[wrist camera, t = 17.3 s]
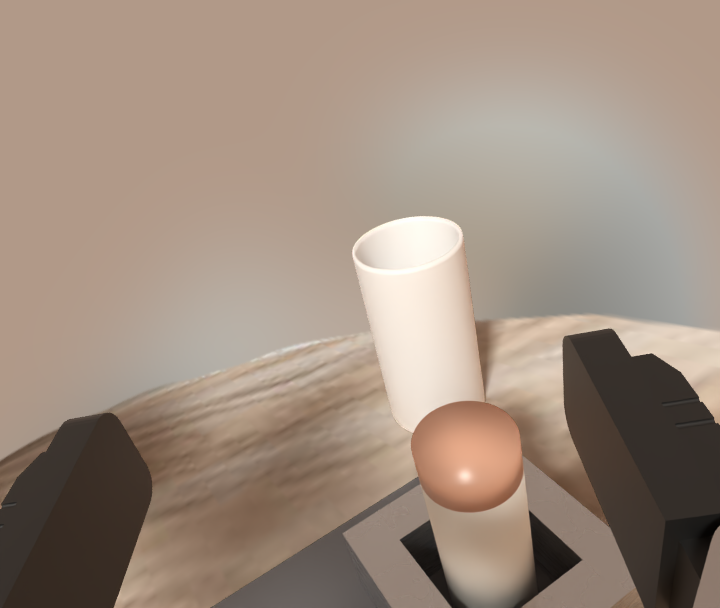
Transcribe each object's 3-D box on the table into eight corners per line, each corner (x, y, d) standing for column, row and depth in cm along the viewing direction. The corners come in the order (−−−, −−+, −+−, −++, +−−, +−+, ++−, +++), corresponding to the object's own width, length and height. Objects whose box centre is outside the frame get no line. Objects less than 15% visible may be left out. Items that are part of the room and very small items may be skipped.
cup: (458, 448, 46) (428, 277, 38) (373, 420, 51) (329, 262, 42) (500, 383, 51) (482, 220, 43) (419, 362, 56) (389, 212, 48)
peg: (436, 595, 36) (390, 438, 28) (496, 546, 37) (469, 386, 30) (493, 664, 32) (458, 504, 24) (558, 606, 33) (544, 439, 26)
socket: (360, 581, 37) (342, 533, 35) (503, 484, 41) (497, 434, 39) (480, 770, 28) (469, 723, 25) (652, 621, 32) (658, 567, 29)
